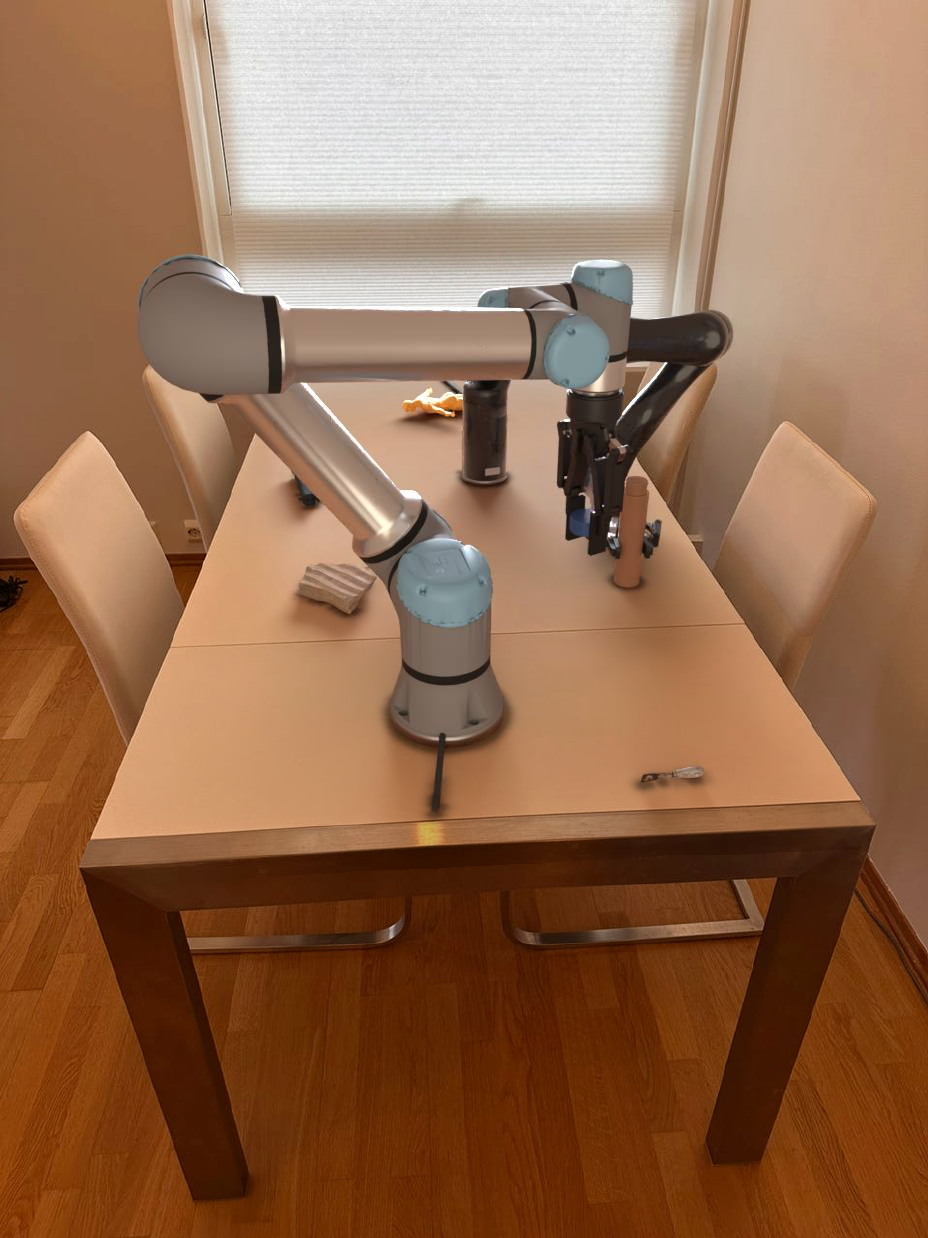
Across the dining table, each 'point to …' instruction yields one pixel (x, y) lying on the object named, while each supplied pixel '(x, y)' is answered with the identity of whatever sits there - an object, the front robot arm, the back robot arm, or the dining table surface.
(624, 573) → the tall tan cylinder
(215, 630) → the dining table surface
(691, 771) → the putty knife
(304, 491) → the handgun
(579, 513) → the lid
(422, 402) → the human figure
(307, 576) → the stone
